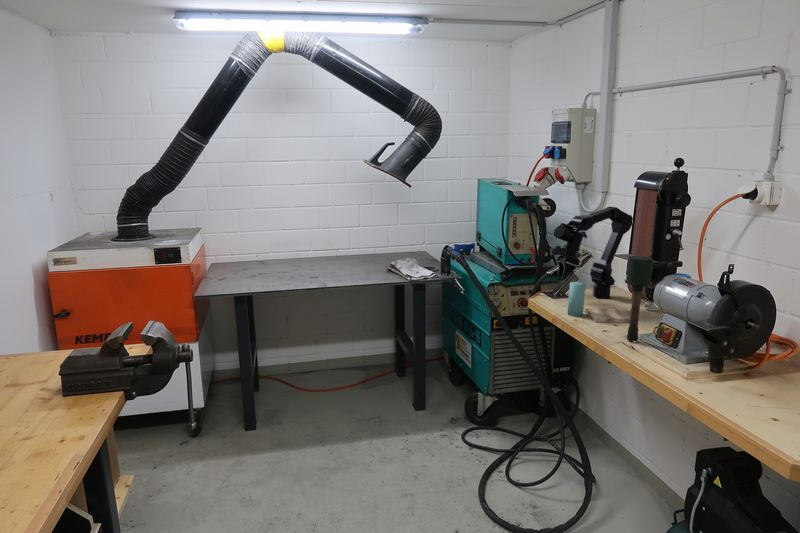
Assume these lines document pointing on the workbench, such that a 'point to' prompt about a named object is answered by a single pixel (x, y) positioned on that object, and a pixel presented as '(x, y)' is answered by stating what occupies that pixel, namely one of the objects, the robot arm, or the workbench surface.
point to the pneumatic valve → (650, 305)
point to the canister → (576, 299)
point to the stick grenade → (637, 288)
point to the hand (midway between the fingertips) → (561, 279)
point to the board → (606, 315)
